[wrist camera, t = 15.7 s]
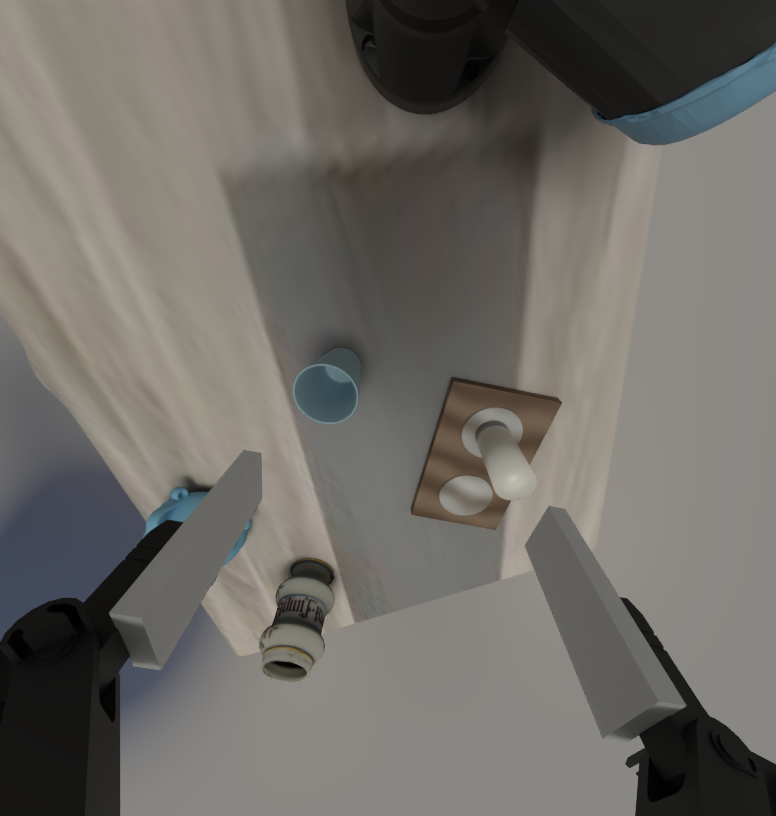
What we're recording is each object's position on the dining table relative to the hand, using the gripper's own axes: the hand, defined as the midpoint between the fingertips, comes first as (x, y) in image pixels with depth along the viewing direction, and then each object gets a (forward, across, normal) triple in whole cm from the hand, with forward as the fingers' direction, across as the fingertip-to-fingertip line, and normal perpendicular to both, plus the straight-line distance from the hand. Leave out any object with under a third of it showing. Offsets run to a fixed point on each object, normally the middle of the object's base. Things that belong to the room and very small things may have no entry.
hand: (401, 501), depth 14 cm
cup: (+31, -8, -6) cm, 32 cm away
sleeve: (+29, +16, -12) cm, 35 cm away
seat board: (+31, +16, -18) cm, 39 cm away
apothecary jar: (+31, -9, -56) cm, 65 cm away
